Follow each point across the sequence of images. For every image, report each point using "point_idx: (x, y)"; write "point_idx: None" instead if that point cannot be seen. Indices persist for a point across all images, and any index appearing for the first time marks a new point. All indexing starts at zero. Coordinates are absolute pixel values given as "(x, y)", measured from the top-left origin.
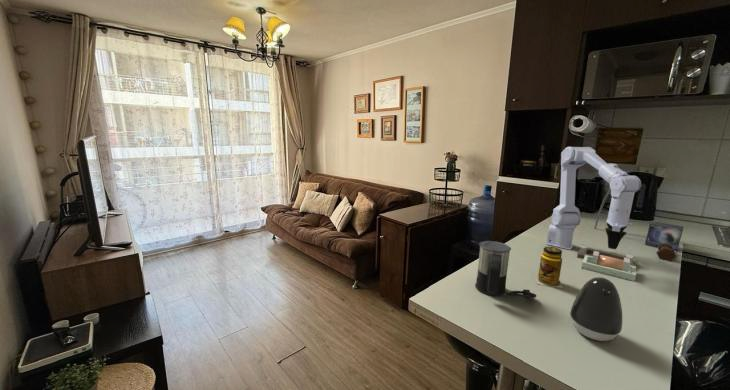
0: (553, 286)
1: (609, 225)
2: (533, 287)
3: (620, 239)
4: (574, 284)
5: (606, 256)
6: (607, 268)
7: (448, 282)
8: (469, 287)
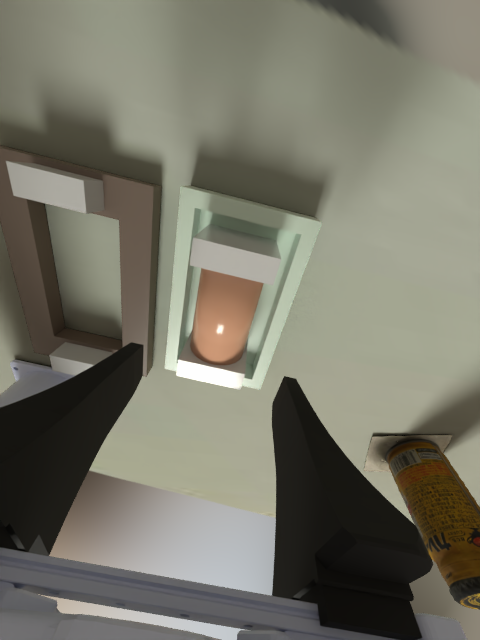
0: (441, 448)
1: (50, 535)
2: None
3: (349, 460)
4: (412, 408)
5: (217, 339)
6: (284, 323)
7: None
8: None
